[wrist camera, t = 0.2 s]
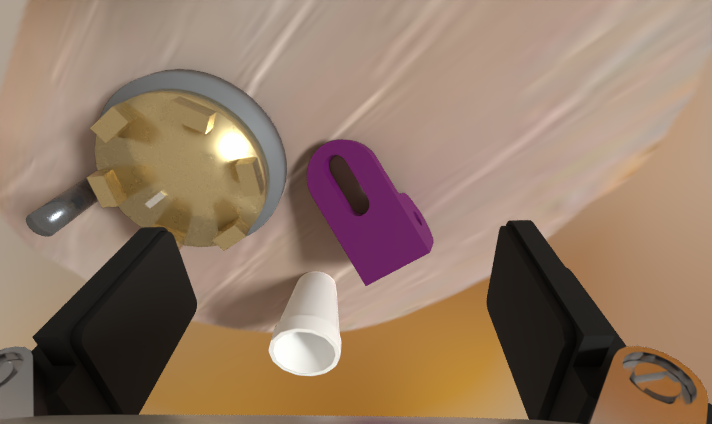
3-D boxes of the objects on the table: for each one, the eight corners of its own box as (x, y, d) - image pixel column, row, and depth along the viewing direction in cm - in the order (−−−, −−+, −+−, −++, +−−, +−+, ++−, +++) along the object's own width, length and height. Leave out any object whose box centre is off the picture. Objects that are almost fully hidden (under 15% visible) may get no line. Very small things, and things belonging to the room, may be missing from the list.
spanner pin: (80, 176, 51) (21, 213, 42) (102, 176, 51) (47, 213, 42) (88, 196, 53) (33, 236, 44) (110, 196, 52) (59, 236, 44)
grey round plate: (83, 70, 44) (64, 74, 41) (275, 68, 43) (269, 72, 40) (143, 231, 55) (131, 243, 53) (294, 232, 54) (291, 244, 52)
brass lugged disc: (146, 240, 52) (128, 260, 48) (77, 97, 42) (48, 107, 38) (284, 231, 50) (277, 250, 47) (247, 79, 40) (234, 88, 36)
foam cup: (331, 256, 57) (322, 321, 45) (354, 298, 61) (350, 367, 50) (277, 273, 59) (255, 339, 47) (303, 312, 63) (288, 381, 52)
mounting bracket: (318, 163, 55) (380, 266, 55) (293, 165, 47) (365, 286, 47) (370, 128, 52) (435, 237, 52) (353, 124, 44) (430, 252, 44)
